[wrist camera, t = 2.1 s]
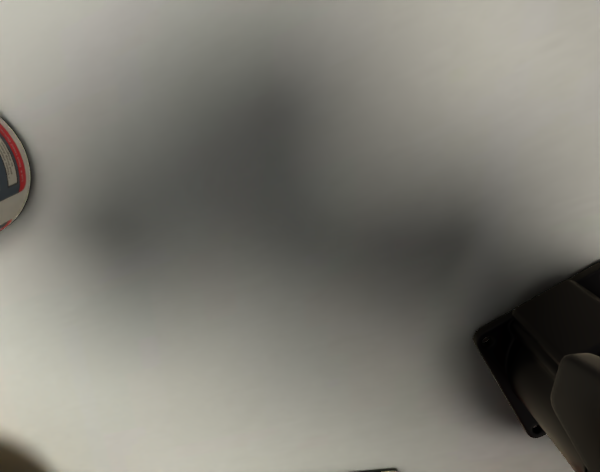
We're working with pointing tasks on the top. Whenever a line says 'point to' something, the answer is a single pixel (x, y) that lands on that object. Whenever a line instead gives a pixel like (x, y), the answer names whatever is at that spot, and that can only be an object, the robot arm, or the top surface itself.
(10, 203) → the pill bottle
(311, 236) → the top surface
